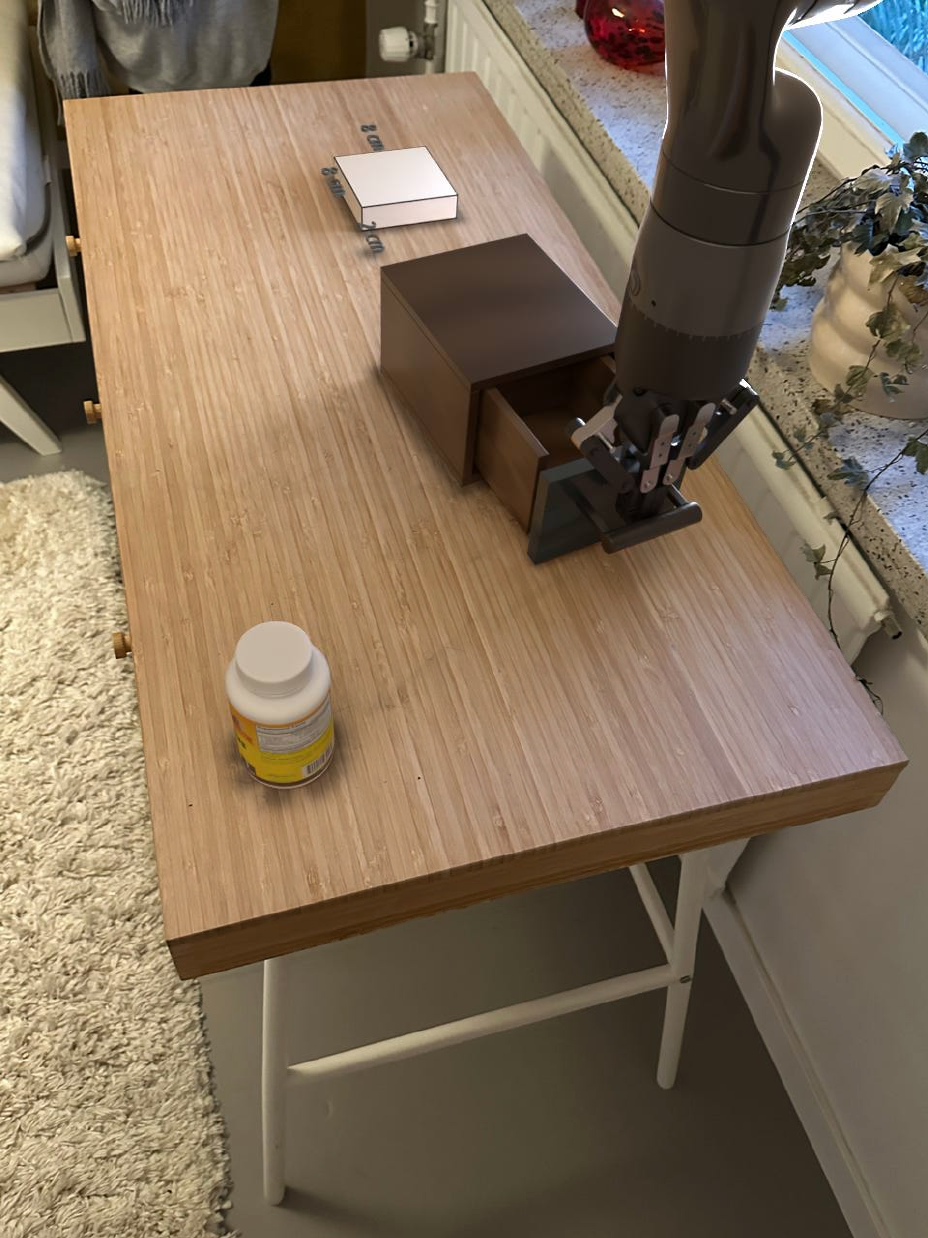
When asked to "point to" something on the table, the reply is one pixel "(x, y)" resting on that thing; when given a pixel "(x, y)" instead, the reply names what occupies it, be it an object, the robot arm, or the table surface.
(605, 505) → the drawer
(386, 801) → the table surface
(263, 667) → the supplement bottle
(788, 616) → the table surface
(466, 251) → the cabinet
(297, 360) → the table surface
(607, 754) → the table surface
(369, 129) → the container
